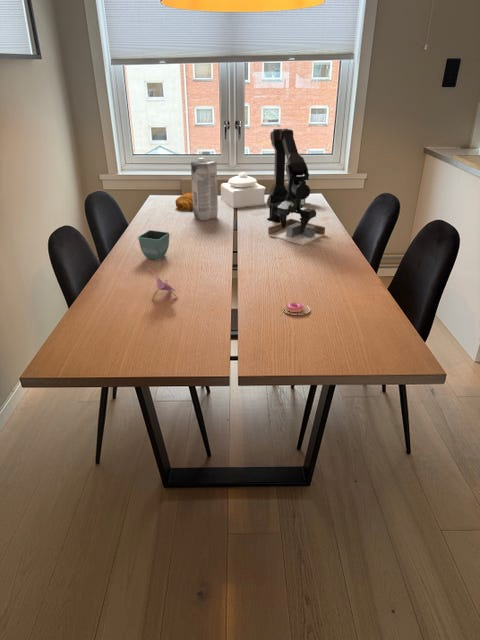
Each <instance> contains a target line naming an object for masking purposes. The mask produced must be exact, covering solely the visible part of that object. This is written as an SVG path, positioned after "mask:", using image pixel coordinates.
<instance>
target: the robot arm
mask: <svg viewBox="0 0 480 640" xmlns="http://www.w3.org/2000/svg"><path fill="white" fill-rule="evenodd" d="M269 137H270V141H271V142H270V143H271V146H272V148H273V150H274V167H273V168H274V170H273V172H274V173H273V185H272V187H271V188H270V190H269V195H268V198H267V200H266V206H267V207H268V208H269V212H268V213H269V214H268V215H269V216H268V217H267V219H266V220H269V221H272V222H275V223H281V224H282V228H285V225H286V220H288V219H287V217H288V216H289V215H290V214H297V215H298V214H299V215H300V217H299V221H301V228H300V233H303V231H304V229H305V227H306V225H307V223H310V220H312V219H313V218H315V217H317V211H316V209H314V208H310V207H309V208H308V207H307V208H305V209H303V206H304V205H301V199H302V200H303V199H305V200H306V199H307V198H308V197H309V196H310V194H311V188H310V186H309V185H306V181H305V180H307V181H309V176H310V173H309V168H308V166H307V163H306V160H305V159H304V157H303V156H301V155H300V154H299V150H298V148H297V145H296V142H295V141H296V140H295V138H294V129H290V128H273V129H272V131H271V132H270V136H269ZM286 160H287V161H286ZM285 172H286V173H285ZM285 174H286V176H285ZM303 175H304V176H303ZM285 177H287V179H288V180H287V181H288V182H287V188H286V186H285Z"/></svg>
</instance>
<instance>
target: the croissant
mask: <svg viewBox="0 0 480 640" xmlns="http://www.w3.org/2000/svg"><path fill="white" fill-rule="evenodd" d="M175 206H176V209H177V210H179V211H188V212H194V211H193V196H192V192H187V193H184V194H182V195H180V196H179V197H177V198H176V199H175Z"/></svg>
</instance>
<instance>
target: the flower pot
mask: <svg viewBox="0 0 480 640" xmlns="http://www.w3.org/2000/svg"><path fill="white" fill-rule="evenodd" d="M137 239H138V243H139V247H140V250H141V252H142V254H143V255H144V256H145V258H146V259H150V260H156V261H160V260H161V259H162V258H163V257H164V256H165V255H166V254H167V251H168V249H169V246H170V232H167V231H159V230H151V229H149V230H147V231H146V232H144V233H143V234H140V235H138V237H137Z"/></svg>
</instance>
